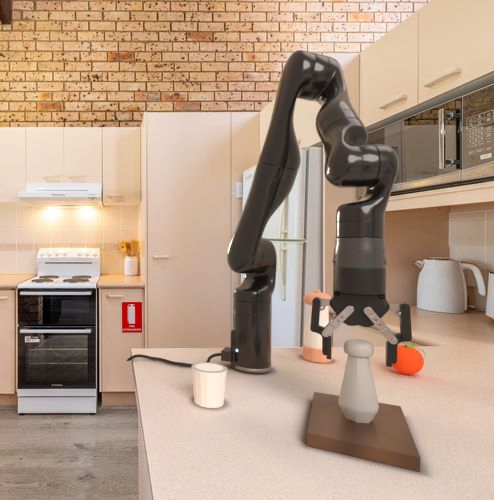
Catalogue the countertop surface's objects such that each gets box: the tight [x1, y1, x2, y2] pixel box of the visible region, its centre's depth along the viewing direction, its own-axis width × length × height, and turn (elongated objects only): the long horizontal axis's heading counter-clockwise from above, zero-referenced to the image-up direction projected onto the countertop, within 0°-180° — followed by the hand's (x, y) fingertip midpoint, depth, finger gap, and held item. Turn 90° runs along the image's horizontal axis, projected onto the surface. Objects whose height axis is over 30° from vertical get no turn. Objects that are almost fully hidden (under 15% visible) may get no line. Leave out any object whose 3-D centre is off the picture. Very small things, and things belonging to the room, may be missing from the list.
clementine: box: [391, 344, 427, 376], centre depth 95 cm, size 8×7×7 cm
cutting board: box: [306, 391, 421, 472], centre depth 65 cm, size 14×20×2 cm
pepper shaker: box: [301, 289, 333, 364], centre depth 108 cm, size 7×7×19 cm
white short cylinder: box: [191, 361, 228, 409], centre depth 77 cm, size 7×7×7 cm
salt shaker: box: [338, 338, 379, 423], centre depth 65 cm, size 6×6×13 cm
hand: (357, 361), depth 65 cm, fingers open, 8 cm apart
